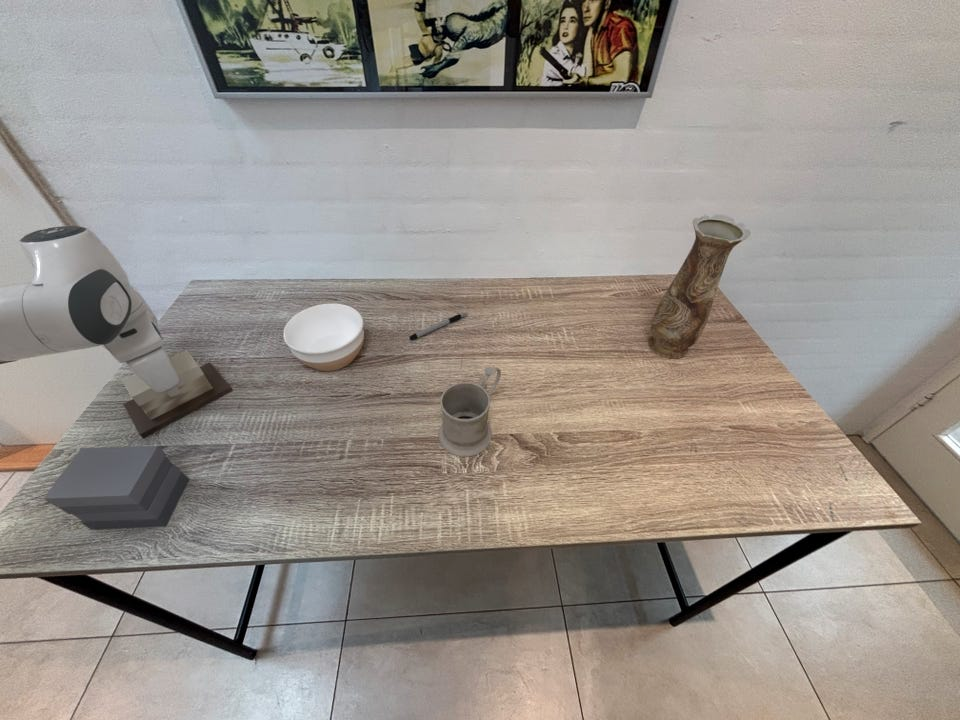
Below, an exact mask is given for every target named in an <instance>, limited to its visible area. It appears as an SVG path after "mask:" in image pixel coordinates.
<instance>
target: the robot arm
mask: <svg viewBox="0 0 960 720" xmlns="http://www.w3.org/2000/svg"><path fill="white" fill-rule="evenodd" d="M19 245H20V247H21V249H22V251H23V253H24V255H25V256H26V258H27V259H28V261H29V262H30V264H31V265H32V267H33V269H34V271H33V272H34V273H33V277H32V280H31V281H30V282H22V283H21V282H20V283H14V284H13V283H12V284H5V285H0V365H3V364H8V363H13V362H17V361H20V360H26V359H32V358H37V357H38V358H39V357H44V356H49V355H51V356H52V355H55V354H56V355H57V354H63V353H67V352H73V351H79V350H86V349H91V348H97V347H100V346H101V347H102V348H104V349H105V350H107V351H108V352H109V353H110V354H111V356H112V357H113V358H114V359H115V360H116V361H117V362H118V363H119V364H124V363H125V365H126V366H128V368H129V369H130V370H131V371H132V372H133V373H136V374H137V375H138V376H139V377H140V378H141V379H142V380H143V381H144V382H145V383H146V384H147V385H148V386H149V387H150V388H151V389H152V390H153V391H155V392H157V393H159V394H161V393H164V392H166V393H167V394H168V395H169V396H170V397H172V396H175V395H177V394H179V393H180V390H179V388H178V387H177V386H178V385H179V384H180V379H179V377H178V375H177V373H176V371H175V369H174V367H173V365H172V363H171V361H170V359H169V358H170V357H169V355H168V353H167V351H166V349H165V347H164V345H165V344H166V343H165V341H164V338H163V337H162V335H161V333H160V330H159V324H158V322H159V321H158V317H157V316H156V315H155V313H154V312H153V310H152V309H151V307H150V306H149V304H148V303H147V301H146V300H145V298H144V296H143V295H142V294H141V293H140V292H139V291H138V290H137V289H136V288H134V287H133V285H132V284H131V283H130V280H129V276H128V273H127V272H126V270H125V269H124V267H123V266H122V265H121V263H120V261H118V259H117V258H116V256H115V255H114V254H113V253H112V252H111V250H110V249H109V248H108V247H107V245H106V244H105V243H104V242H103V240H101V239H100V237H98V236H97V235H96V233H94V232H93V231H91V230H90V229H89V228H87V227H84V226H78V225H63V226H54V227H53V226H52V227H48V228H43V229H38V230H34V231H32V232H29V233H27V234H26V235H24V236H22V237H21V238H20V239H19Z"/></svg>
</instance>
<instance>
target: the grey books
mask: <svg viewBox="0 0 960 720" xmlns="http://www.w3.org/2000/svg"><path fill="white" fill-rule="evenodd" d="M189 481H190V478H189V477H188V476H187V475H186V474H185V473H184V472H183V471H182V470H181V469H180V468H179V467H178V466H177V465H176V464H175V463H173V462H172V461H171V460H170V459H168V457H167V454H166V453H165V451H163V449H162V448H161V447H160V446H159V445H141V446H139V445H138V446H110V447H109V446H107V447H81V448H80V449H79V450H78V452H77V453H76V454H75V456H74V457H73V458H72V460H71V461H70V462H69V464H68V465H67V466H66V468H65V469H64V471H63V472H62V473H61V475H59V477H58V478H57V480H56V481H55V482H54V484H53V485H52V486H51V488H50V489H49V491H48V492H47V493H46V495H45V496H44V498H43V500H44V501H46V502H48V503H49V504H51V505H52V506H54V507H56V508H58V509H60V510H62V511H63V512H64V513H66V514H68V515H72V516H74V517H75V518H77V519H78V520H80V524H81V525H83V526H84V527H86V528H88V529H89V530H91V531H92V530H114V529H136V528H139V529H140V528H161V527H167V526H168V523H169V522H170V520H171V517H172V515H173V513H174V511H175V509H176V507H177V505H178V503H179V501H180V499H181V497H182V495H183V493H184V492H185V489H186V487H187V485H188V483H189Z"/></svg>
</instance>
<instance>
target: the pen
mask: <svg viewBox="0 0 960 720" xmlns="http://www.w3.org/2000/svg"><path fill="white" fill-rule="evenodd" d="M466 315H468V312H462V311H461V312H460V313H458V314H456V315H453V316H452V317H449V318H447V319H444V320H442V321H440V322H437V323H436V324H433V325H431V326H429V327H426V328H423V329H421V330H420V331H417V332H414V333H412V334H411V335H409V340H410V341H413V340H415V339H419V338H420V337H423V336H425V335H427V334H429V333H432V332H434V331H436V330H439V329H441V328H442V327H445V326H447V325H450V324H452V323H454V322H456V321H458V320H460V319H463V318H465V317H466Z"/></svg>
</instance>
